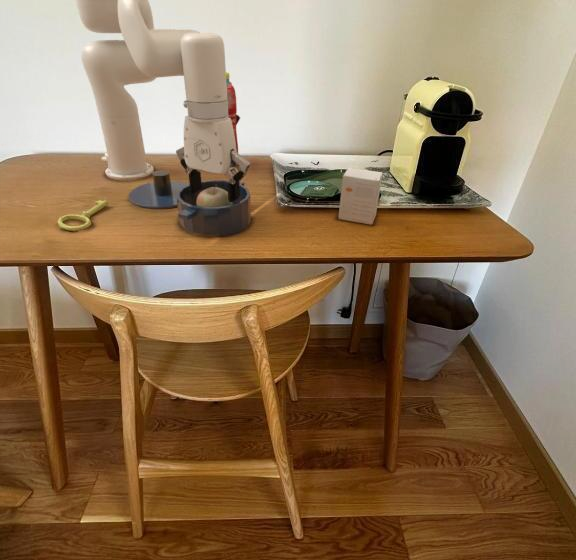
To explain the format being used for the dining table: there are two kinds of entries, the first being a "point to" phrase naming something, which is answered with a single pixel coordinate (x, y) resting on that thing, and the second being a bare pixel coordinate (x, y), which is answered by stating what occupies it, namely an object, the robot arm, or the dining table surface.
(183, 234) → the dining table surface
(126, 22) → the robot arm
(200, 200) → the fruit
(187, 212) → the pot
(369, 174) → the small box
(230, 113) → the water bottle
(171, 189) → the lid
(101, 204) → the key
